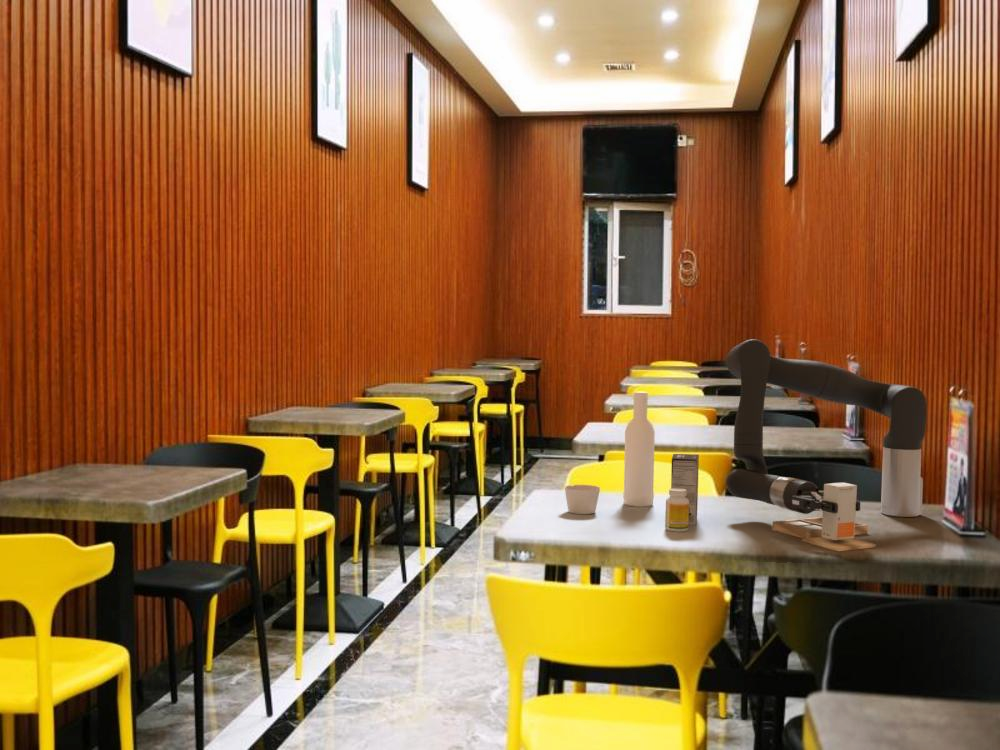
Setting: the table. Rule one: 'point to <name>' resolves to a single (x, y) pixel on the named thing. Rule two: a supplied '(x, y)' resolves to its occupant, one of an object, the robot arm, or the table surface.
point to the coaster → (839, 543)
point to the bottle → (639, 456)
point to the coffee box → (687, 480)
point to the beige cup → (582, 498)
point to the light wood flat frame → (809, 527)
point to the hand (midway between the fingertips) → (847, 507)
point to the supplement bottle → (677, 510)
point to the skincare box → (840, 511)
